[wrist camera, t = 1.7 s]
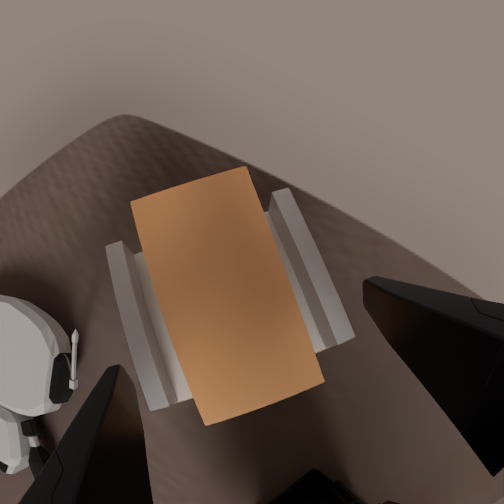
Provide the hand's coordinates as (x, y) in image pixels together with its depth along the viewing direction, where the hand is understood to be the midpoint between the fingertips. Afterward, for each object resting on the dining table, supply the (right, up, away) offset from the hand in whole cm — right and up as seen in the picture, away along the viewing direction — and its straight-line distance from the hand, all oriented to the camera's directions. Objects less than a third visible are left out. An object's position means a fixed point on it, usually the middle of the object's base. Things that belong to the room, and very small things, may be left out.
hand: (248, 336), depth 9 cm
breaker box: (-1, -3, +12) cm, 13 cm away
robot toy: (-18, -9, +10) cm, 22 cm away
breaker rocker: (-1, +1, +4) cm, 4 cm away
